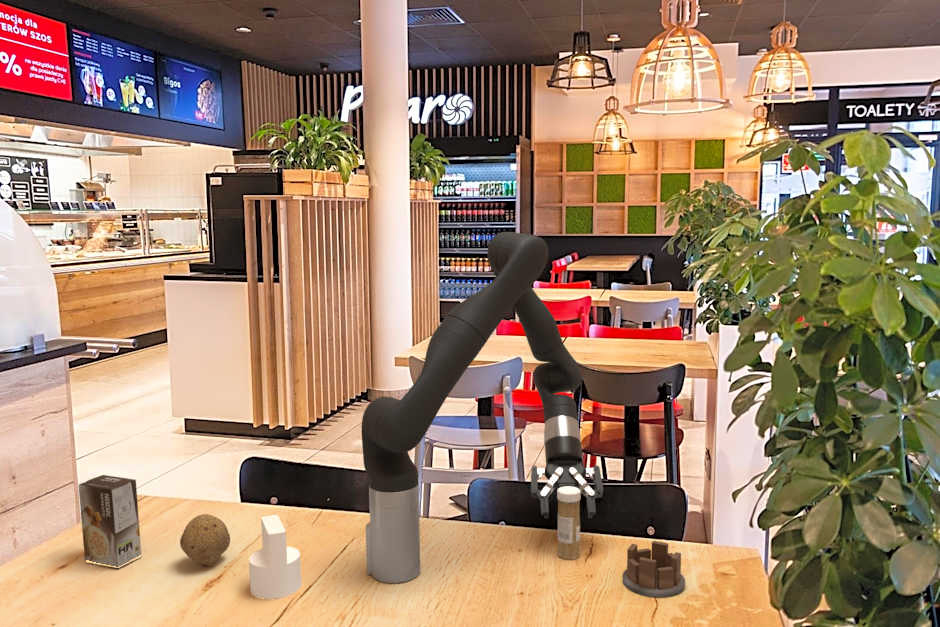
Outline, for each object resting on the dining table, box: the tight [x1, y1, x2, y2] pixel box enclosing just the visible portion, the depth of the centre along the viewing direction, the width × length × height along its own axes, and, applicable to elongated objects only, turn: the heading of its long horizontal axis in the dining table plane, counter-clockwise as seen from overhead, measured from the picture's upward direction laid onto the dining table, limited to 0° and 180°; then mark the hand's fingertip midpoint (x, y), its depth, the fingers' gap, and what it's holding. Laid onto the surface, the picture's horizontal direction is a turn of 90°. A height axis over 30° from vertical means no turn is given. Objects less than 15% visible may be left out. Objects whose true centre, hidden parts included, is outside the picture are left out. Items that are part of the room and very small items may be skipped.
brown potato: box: [179, 513, 231, 566], centre depth 151 cm, size 9×9×10 cm
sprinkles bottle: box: [556, 486, 582, 560], centre depth 152 cm, size 5×5×13 cm
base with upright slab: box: [248, 514, 302, 600], centre depth 140 cm, size 9×9×12 cm
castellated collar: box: [622, 540, 686, 599], centre depth 141 cm, size 11×11×6 cm
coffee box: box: [78, 474, 142, 567], centre depth 153 cm, size 9×6×16 cm
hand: (568, 516), depth 152 cm, fingers open, 8 cm apart
